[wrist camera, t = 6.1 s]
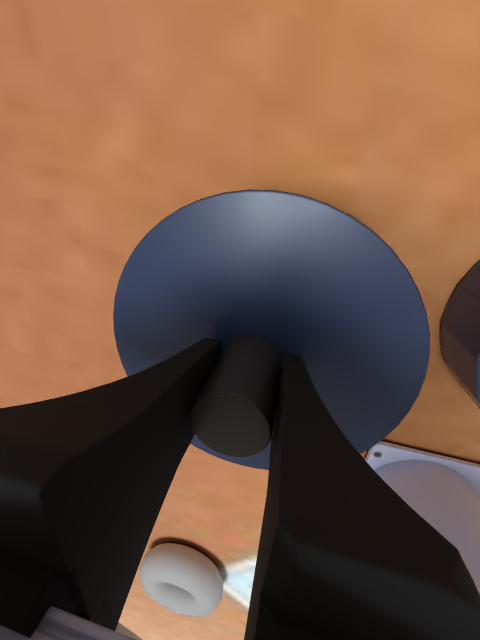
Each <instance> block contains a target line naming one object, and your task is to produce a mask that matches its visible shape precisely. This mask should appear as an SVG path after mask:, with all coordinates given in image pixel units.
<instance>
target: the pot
mask: <svg viewBox="0 0 480 640" xmlns="http://www.w3.org/2000/svg"><path fill="white" fill-rule="evenodd" d="M440 341H441V348H442V352H443V355H444V358H445V361H446V363H447V364H448V366H449V368H450V370H451V371H452V372H453V373H454V375H455V376H456V378H457V379H458V381H459V382H460V384H461V385H462V387H463V388H464V389H465V391H466V392H467V393H468V395H469V396H470V397H471V398H472V400H473V401H474V402H475V403H476V405H477V406H478V407H479V409H480V261H479V262H478V263H476V264H475V265H474V266H473V267H472V269H471V270H470V271H469V272H468V273H467V274H466V275H465V276H464V278H463V279H462V280H461V282H460V283H459V284H458V286H457V287H456V289H455V290H454V292H453V294H452V296H451V297H450V299H449V301H448V303H447V306H446V309H445V311H444V314H443V318H442V323H441V330H440Z"/></svg>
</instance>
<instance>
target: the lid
mask: <svg viewBox="0 0 480 640" xmlns="http://www.w3.org/2000/svg"><path fill="white" fill-rule="evenodd" d="M113 319H114V334H115V339H116V344H117V349H118V352H119V356H120V359H121V362H122V365H123V367H124V369H125V371H126V374H127V376H131V375H133V374H136V373H138V372H140V371H143V370H145V369H147V368H149V367H151V366H153V365H155V364H158V363H160V362H162V361H164V360H166V359H168V358H170V357H172V356H173V355H175V354H177V353H179V352H181V351H183V350H184V349H186V348H188V347H190V346H192V345H193V344H195V343H197V342H199V341H200V340H202V339H204V338H211V339H216V340H221V353H220V357H219V359H218V360H217V362H216V364H215V366H214V368H213V369H212V371H211V373H210V375H209V377H208V378H207V380H206V382H205V384H204V386H203V387H202V389H201V391H200V393H199V394H198V396H197V398H196V400H195V402H194V403H193V405H192V407H191V410H190V424H191V427H192V430H193V431H194V433H195V435H194V437H193V439H192V441H191V443H190V444H192V445H194V446H195V447H197V448H199V449H201V450H203V451H205V452H207V453H209V454H211V455H214V456H216V457H218V458H221V459H223V460H226V461H229V462H233V463H236V464H239V465H243V466H248V467H252V468H258V469H265V470H269V462H270V447H271V436H272V430H273V423H274V417H275V411H276V405H277V399H278V390H279V382H280V376H281V370H282V364H283V359H284V354H285V353H287V354H292V355H297V356H302V358H303V359H304V362H305V365H306V368H307V370H308V373H309V375H310V377H311V380H312V382H313V384H314V386H315V388H316V390H317V392H318V394H319V396H320V398H321V399H322V401H323V403H324V405H325V406H326V408H327V410H328V411H329V413H330V415H331V416H332V418H333V419H334V421H335V422H336V424H337V425H338V427H339V428H340V429H341V431H342V432H343V434H344V435H345V436H346V438H347V439H348V440H349V442H350V443H351V444H352V445H353V447H354V448H355V449H356V450H357V451H358V453H359V454H360V453H362V452H364V451H366V450H368V449H370V448H371V447H373V446H374V445H375V444H377V443H378V442H380V441H381V440H383V439H384V438H385V437H386V436H387V435H388V434H389V433H390V432H392V431H393V430H394V429H395V428H396V427H397V426H398V425H399V423H400V422H401V421H402V420H403V418H404V417H405V416H406V415H407V413H408V412H409V411H410V409H411V407H412V406H413V404H414V402H415V400H416V399H417V397H418V395H419V392H420V390H421V387H422V384H423V382H424V379H425V376H426V371H427V366H428V361H429V350H430V333H429V327H428V320H427V314H426V310H425V307H424V304H423V301H422V298H421V295H420V292H419V290H418V288H417V286H416V284H415V282H414V281H413V279H412V277H411V275H410V273H409V271H408V269H407V268H406V267H405V265H404V264H403V263H402V261H401V260H400V259H399V258H398V256H397V255H396V254H395V252H394V251H393V250H392V249H391V248H390V247H389V246H388V245H387V244H386V243H385V242H384V241H383V240H382V239H381V238H380V237H379V236H378V235H377V234H376V233H375V232H374V231H372V230H371V229H370V228H368V227H367V226H365V225H364V224H362V223H361V222H360V221H358V220H357V219H355V218H354V217H352V216H351V215H349V214H347V213H345V212H343V211H341V210H339V209H337V208H335V207H333V206H331V205H329V204H327V203H324V202H321V201H318V200H315V199H312V198H309V197H306V196H303V195H299V194H293V193H288V192H282V191H276V190H242V191H233V192H225V193H221V194H217V195H214V196H210V197H206V198H203V199H200V200H197V201H195V202H193V203H191V204H189V205H186V206H184V207H182V208H180V209H178V210H177V211H175V212H174V213H172V214H171V215H169V216H167V217H166V218H164V219H163V220H161V221H160V222H159V223H158V224H157V225H156V226H155V227H154V228H153V229H151V230H150V231H149V232H148V233H147V234H146V235H145V237H144V238H143V239H142V240H141V242H140V243H139V244H138V245H137V246H136V248H135V249H134V251H133V252H132V254H131V256H130V258H129V259H128V261H127V263H126V265H125V267H124V269H123V272H122V274H121V277H120V280H119V282H118V287H117V291H116V295H115V301H114V314H113Z"/></svg>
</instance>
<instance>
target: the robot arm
mask: <svg viewBox="0 0 480 640" xmlns="http://www.w3.org/2000/svg"><path fill="white" fill-rule="evenodd" d="M220 353H221V340H216V339H211V338H204V339H202V340H200V341H199V342H197V343H195V344H193V345H192V346H190V347H188V348H186V349H184V350H183V351H181V352H179V353H177V354H175V355H173V356H172V357H170V358H168V359H166V360H164V361H162V362H160V363H158V364H155V365H153V366H151V367H149V368H147V369H145V370H143V371H140V372H138V373H136V374H133V375H131V376H128V377H125V378H123V379H120V380H117V381H115V382H112V383H109V384H105V385H102V386H99V387H95V388H92V389H89V390H86V391H82V392H79V393H75V394H71V395H67V396H63V397H58V398H54V399H49V400H45V401H40V402H35V403H30V404H24V405H18V406H12V407H6V408H0V640H135V639H132V638H130V637H127V636H125V635H122V634H120V633H118V632H115V630H116V627H117V624H118V621H119V618H120V616H121V613H122V610H123V607H124V604H125V602H126V599H127V596H128V593H129V591H130V588H131V585H132V582H133V580H134V577H135V574H136V571H137V569H138V566H139V563H140V561H141V558H142V555H143V553H144V550H145V548H146V545H147V542H148V540H149V537H150V534H151V532H152V529H153V527H154V524H155V522H156V519H157V517H158V514H159V512H160V509H161V507H162V504H163V502H164V499H165V497H166V494H167V492H168V489H169V487H170V485H171V482H172V480H173V477H174V475H175V473H176V470H177V468H178V466H179V464H180V462H181V460H182V458H183V456H184V454H185V452H186V450H187V448H188V446H189V444H190V443H191V441H192V439H193V437H194V435H195V433H194V431H193V430H192V427H191V424H190V410H191V407H192V405H193V403H194V402H195V400H196V398H197V396H198V394H199V393H200V391H201V389H202V387H203V386H204V384H205V382H206V380H207V378H208V377H209V375H210V373H211V371H212V369H213V368H214V366H215V364H216V362H217V360H218V359H219V357H220ZM376 452H379V453H376ZM244 640H480V464H476V463H472V462H467V461H463V460H459V459H455V458H451V457H446V456H442V455H438V454H434V453H430V452H425V451H421V450H417V449H413V448H409V447H404V446H400V445H396V444H392V443H387V442H383V441H380V442H378V443H377V444H375V445H374V446H373V447H371V448H370V449H369V451H368V454H367V456H366V459H364V458H363V457H362V456H361V455H360V454H359V453H358V451H357V450H356V449H355V448H354V447H353V445H352V444H351V443H350V442H349V440H348V439H347V438H346V436H345V435H344V434H343V432H342V431H341V429H340V428H339V427H338V425H337V424H336V422H335V421H334V419H333V418H332V416H331V415H330V413H329V411H328V410H327V408H326V406H325V405H324V403H323V401H322V399H321V398H320V396H319V394H318V392H317V390H316V388H315V386H314V384H313V382H312V380H311V377H310V375H309V373H308V370H307V368H306V365H305V362H304V359H303V358H302V356H297V355H292V354H287V353H285V354H284V359H283V364H282V370H281V376H280V382H279V390H278V399H277V405H276V411H275V417H274V423H273V430H272V436H271V447H270V462H269V478H268V488H267V497H266V503H265V510H264V516H263V523H262V529H261V536H260V542H259V549H258V555H257V561H256V568H255V574H254V581H253V587H252V593H251V600H250V606H249V612H248V618H247V625H246V631H245V637H244Z"/></svg>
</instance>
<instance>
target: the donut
mask: <svg viewBox="0 0 480 640" xmlns="http://www.w3.org/2000/svg"><path fill="white" fill-rule="evenodd" d="M139 575H140V580H141V584H142V587H143V588H144V590H145V591H146V593H147V594H148V595H149V596H150V597H151V598H152V599H153V600H154V601H155V602H157V603H158V604H160V605H161V606H163V607H165V608H166V609H168V610H170V611H172V612H175V613H178V614H181V615H185V616H190V617H201V616H205V615H208V614H210V613H212V612H213V611H214V610H215V609H216V608H217V606H218V605H219V603H220V601H221V599H222V593H223V580H222V577H221V575H220V572H219V570H218V568H217V567H216V565H215V564H214V563H213V562H212V561H211V560H210V559H209V558H208V557H206V556H205V555H203V554H202V553H201V552H199V551H197V550H195V549H193V548H191V547H188V546H185V545H182V544H175V543H164V544H159V545H157V546H155V547H154V548H152V549H150V550H149V551H148V552H147V553H146V555H145V557H144V559H143V561H142V563H141V566H140V572H139Z"/></svg>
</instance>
